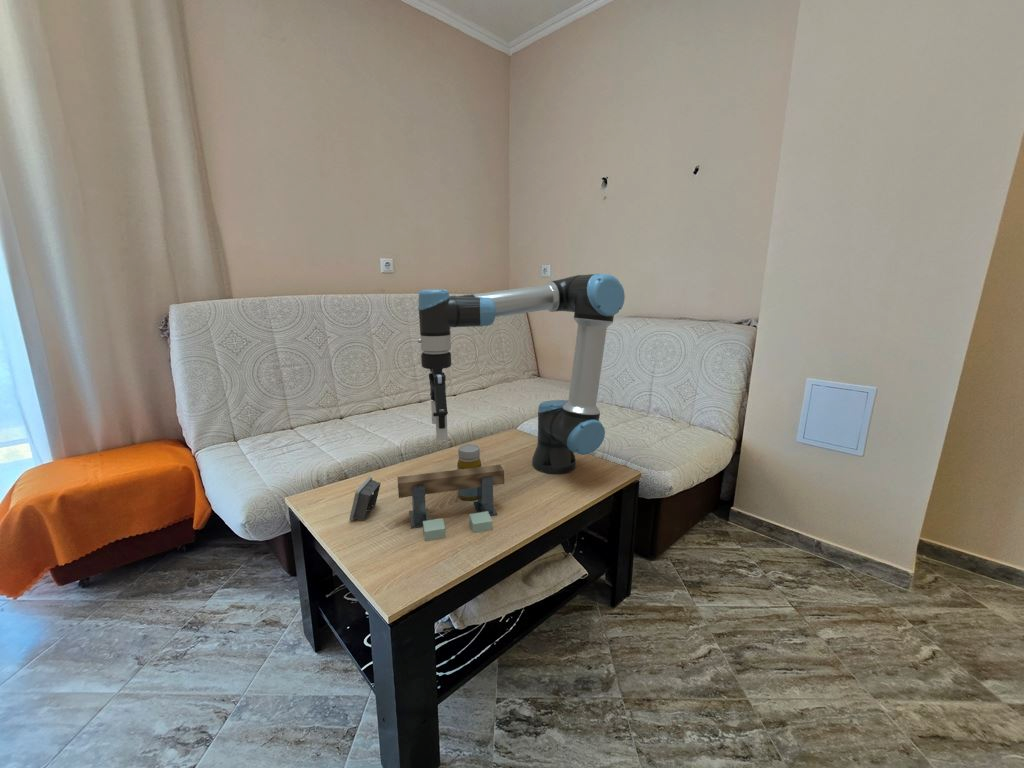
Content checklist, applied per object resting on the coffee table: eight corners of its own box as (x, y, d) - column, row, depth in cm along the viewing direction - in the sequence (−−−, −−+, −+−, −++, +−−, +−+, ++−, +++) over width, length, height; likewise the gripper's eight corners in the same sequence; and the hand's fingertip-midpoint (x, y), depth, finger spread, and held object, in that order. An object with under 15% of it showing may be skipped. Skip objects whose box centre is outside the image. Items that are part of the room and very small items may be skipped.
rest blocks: (488, 519, 111) (487, 511, 111) (492, 529, 107) (492, 521, 106) (423, 529, 107) (422, 521, 106) (425, 541, 102) (424, 531, 101)
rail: (500, 477, 118) (500, 464, 117) (504, 483, 114) (504, 470, 114) (398, 490, 110) (397, 477, 109) (398, 498, 107) (397, 483, 106)
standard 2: (490, 501, 121) (490, 466, 119) (497, 515, 114) (497, 477, 111) (473, 503, 120) (472, 468, 117) (479, 518, 112) (478, 480, 110)
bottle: (478, 502, 121) (477, 453, 117) (455, 499, 122) (453, 451, 119) (484, 491, 127) (483, 444, 124) (462, 488, 129) (461, 443, 125)
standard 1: (427, 510, 116) (425, 473, 114) (430, 525, 109) (428, 486, 106) (409, 513, 115) (406, 476, 112) (410, 528, 107) (408, 489, 105)
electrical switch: (363, 504, 119) (363, 474, 117) (381, 506, 119) (382, 477, 117) (348, 522, 110) (349, 490, 108) (367, 524, 110) (368, 493, 108)
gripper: (418, 345, 117) (422, 418, 121) (424, 360, 93) (428, 449, 98) (445, 344, 118) (448, 416, 123) (457, 358, 95) (460, 446, 100)
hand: (439, 431), depth 111 cm, fingers open, 13 cm apart
